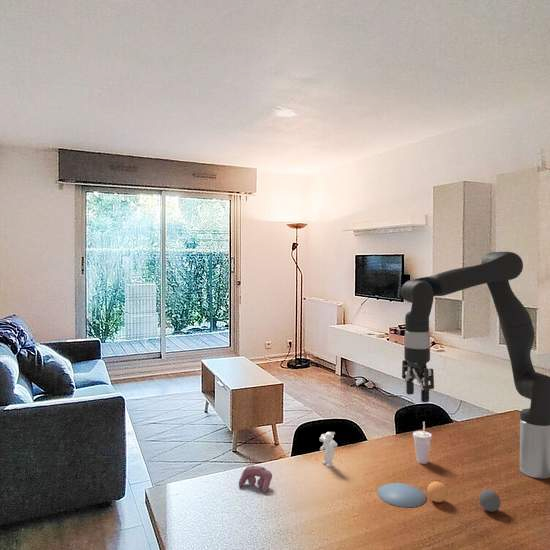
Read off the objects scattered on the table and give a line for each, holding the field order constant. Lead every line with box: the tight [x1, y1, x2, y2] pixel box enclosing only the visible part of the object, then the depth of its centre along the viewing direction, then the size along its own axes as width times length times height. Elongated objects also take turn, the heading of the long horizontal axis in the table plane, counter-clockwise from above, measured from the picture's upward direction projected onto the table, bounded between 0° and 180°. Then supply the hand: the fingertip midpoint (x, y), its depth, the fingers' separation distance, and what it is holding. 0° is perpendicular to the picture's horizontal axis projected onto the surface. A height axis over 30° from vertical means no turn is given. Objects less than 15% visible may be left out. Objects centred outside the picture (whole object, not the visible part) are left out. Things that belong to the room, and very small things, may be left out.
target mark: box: [377, 482, 427, 508], centre depth 138 cm, size 14×14×1 cm
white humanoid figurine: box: [319, 431, 338, 468], centre depth 159 cm, size 9×4×12 cm, turn 24°
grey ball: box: [478, 489, 502, 512], centre depth 129 cm, size 6×6×6 cm
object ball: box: [426, 481, 448, 503], centre depth 134 cm, size 6×6×6 cm
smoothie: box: [412, 421, 433, 465], centre depth 161 cm, size 6×6×14 cm
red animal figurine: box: [238, 465, 273, 493], centre depth 144 cm, size 10×5×7 cm, turn 65°
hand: (417, 397), depth 141 cm, fingers open, 8 cm apart
